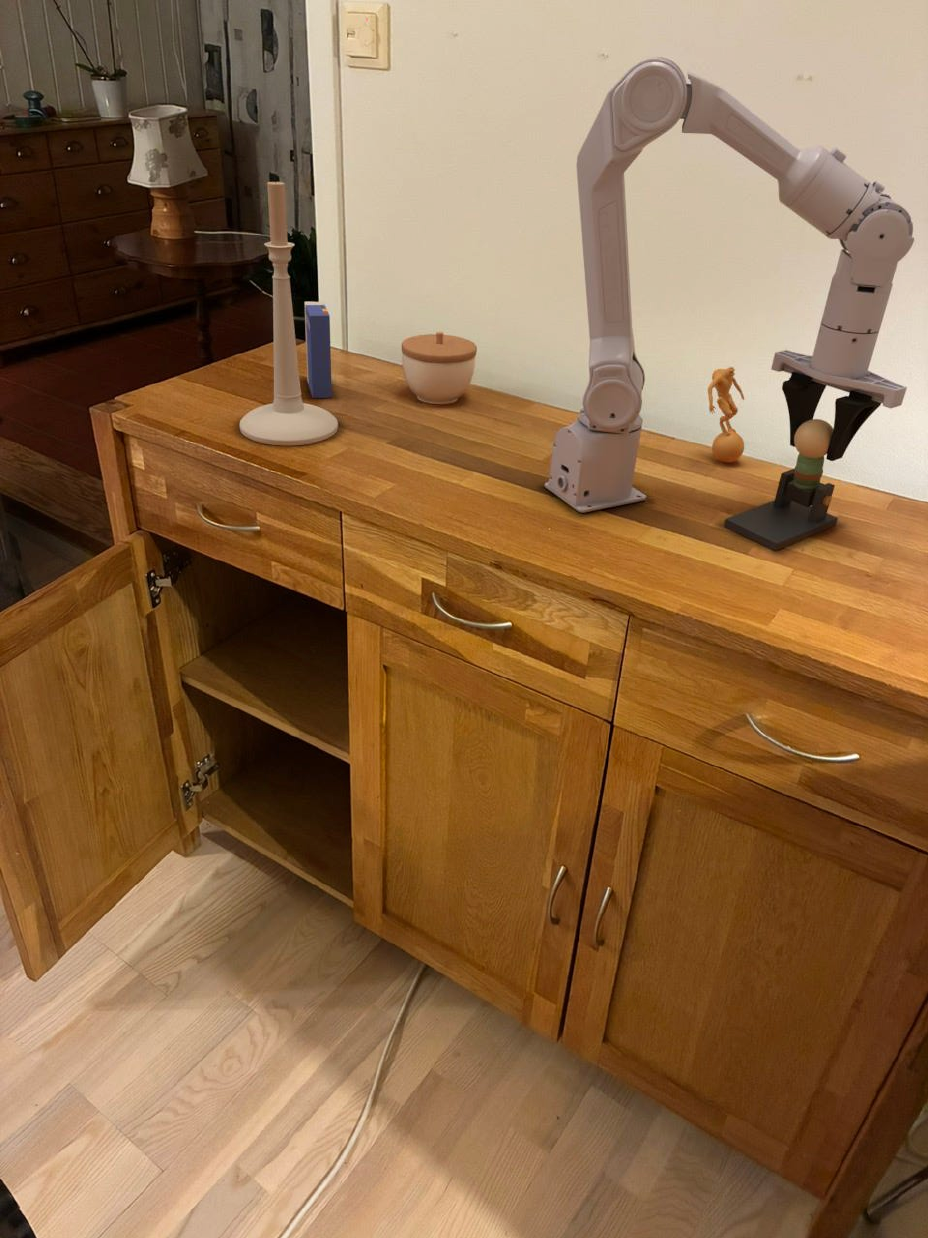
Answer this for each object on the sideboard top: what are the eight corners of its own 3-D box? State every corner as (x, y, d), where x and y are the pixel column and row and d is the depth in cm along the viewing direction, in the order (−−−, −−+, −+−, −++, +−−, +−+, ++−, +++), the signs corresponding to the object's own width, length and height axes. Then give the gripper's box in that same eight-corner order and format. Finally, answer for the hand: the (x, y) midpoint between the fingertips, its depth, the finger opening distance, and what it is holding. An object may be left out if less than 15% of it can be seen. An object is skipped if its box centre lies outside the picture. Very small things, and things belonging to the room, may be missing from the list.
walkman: (332, 397, 132) (329, 312, 125) (312, 398, 131) (309, 312, 125) (325, 380, 138) (323, 298, 132) (307, 380, 138) (303, 298, 131)
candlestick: (294, 453, 114) (280, 189, 98) (219, 429, 119) (194, 176, 103) (357, 424, 123) (354, 179, 107) (284, 403, 129) (271, 167, 113)
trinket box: (473, 411, 130) (477, 345, 125) (398, 407, 130) (399, 341, 125) (474, 387, 139) (477, 324, 134) (403, 383, 139) (404, 320, 134)
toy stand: (775, 551, 98) (786, 509, 96) (723, 526, 103) (732, 485, 100) (836, 525, 104) (848, 485, 102) (784, 502, 109) (794, 463, 106)
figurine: (722, 474, 115) (743, 380, 109) (681, 460, 119) (698, 368, 112) (753, 457, 121) (775, 367, 114) (713, 444, 124) (731, 356, 118)
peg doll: (807, 512, 102) (823, 433, 96) (776, 498, 104) (789, 420, 99) (830, 499, 104) (846, 420, 98) (798, 485, 106) (813, 408, 101)
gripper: (937, 338, 91) (895, 466, 98) (811, 305, 100) (782, 424, 108) (899, 348, 87) (859, 480, 95) (772, 313, 97) (745, 435, 104)
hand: (815, 451), depth 101 cm, fingers closed on peg doll, 4 cm apart
